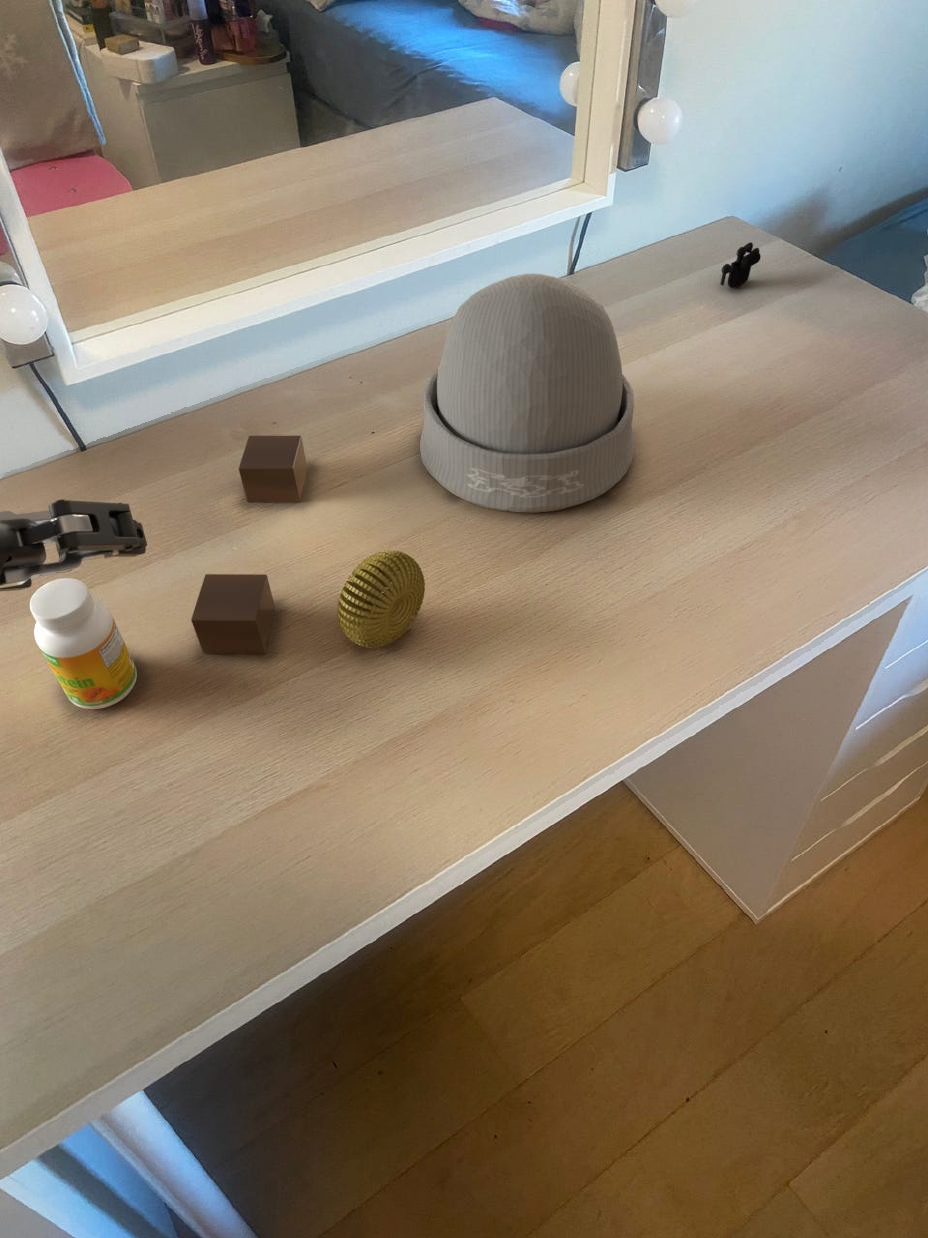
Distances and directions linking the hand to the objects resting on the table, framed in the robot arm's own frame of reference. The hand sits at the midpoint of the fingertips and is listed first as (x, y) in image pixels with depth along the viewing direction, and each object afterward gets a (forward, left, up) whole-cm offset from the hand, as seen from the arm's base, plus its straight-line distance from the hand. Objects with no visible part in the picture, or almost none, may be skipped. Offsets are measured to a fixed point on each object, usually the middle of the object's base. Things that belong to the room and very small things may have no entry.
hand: (80, 555), depth 57 cm
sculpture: (+7, +18, -15) cm, 25 cm away
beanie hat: (-4, +43, -15) cm, 46 cm away
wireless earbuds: (-11, +84, -15) cm, 86 cm away
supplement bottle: (-3, -2, -15) cm, 16 cm away
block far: (-15, +21, -15) cm, 30 cm away
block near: (-1, +9, -15) cm, 18 cm away
